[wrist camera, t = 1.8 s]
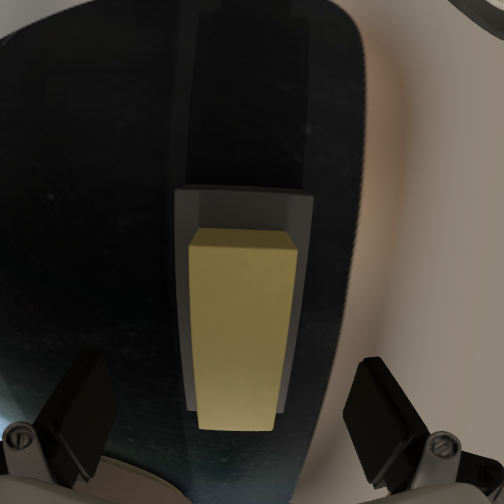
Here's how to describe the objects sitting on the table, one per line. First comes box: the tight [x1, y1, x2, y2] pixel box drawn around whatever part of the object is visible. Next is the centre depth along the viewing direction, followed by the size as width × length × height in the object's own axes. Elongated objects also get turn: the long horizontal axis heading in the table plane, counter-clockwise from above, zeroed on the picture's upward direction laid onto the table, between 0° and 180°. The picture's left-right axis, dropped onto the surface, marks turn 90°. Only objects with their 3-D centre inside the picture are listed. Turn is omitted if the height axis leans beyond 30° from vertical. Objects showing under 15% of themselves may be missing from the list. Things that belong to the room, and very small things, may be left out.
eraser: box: [174, 184, 314, 431], centre depth 13 cm, size 12×6×5 cm, turn 177°
